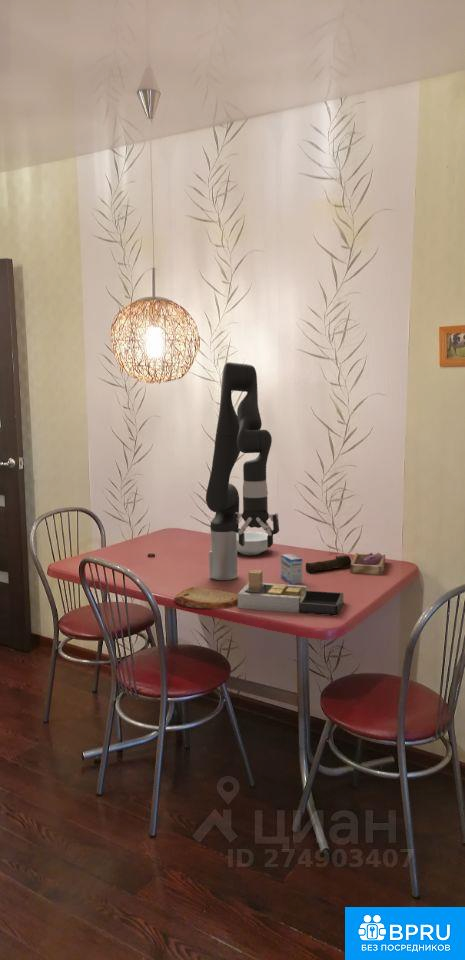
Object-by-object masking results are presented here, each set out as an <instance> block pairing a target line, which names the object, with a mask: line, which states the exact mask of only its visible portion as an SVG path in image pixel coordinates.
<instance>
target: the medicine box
mask: <svg viewBox="0 0 465 960" xmlns="http://www.w3.org/2000/svg"><path fill="white" fill-rule="evenodd" d="M280 579H281V580H282V581H285V582H286V583H289V585H298V584H302V583H303V559H302V558H301V557H299V556H297V555H294V554H293V553H284V554H281V555H280Z"/></svg>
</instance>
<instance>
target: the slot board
mask: <svg viewBox="0 0 465 960" xmlns="http://www.w3.org/2000/svg"><path fill="white" fill-rule="evenodd" d="M263 584H265V594H259V593H246V590H247V589H248V588H249V581H248V582H246V584H245V585H244V587H242V589H240V591H238V593H237V595H238V605H237V608H238V609H246V610H249V609H250V610H258V611H259V610H260V611H270V612H285V613H297V614H308V613H313V615H321V614H329V615H328V616H333V615H339V613H340V611H341V609H340V608H342V607H343V604H344V592H333V591H319V590H308V586H307V585H299V584H285V583H278V584H279V585H287V589H288V587H291V588H301V598H300V596H287V595H273V594H268V591H269V590H270V589H271V588H272V587H273V585H274V584H275V583H269V582H263ZM314 613H315V614H314Z"/></svg>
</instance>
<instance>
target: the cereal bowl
mask: <svg viewBox="0 0 465 960" xmlns="http://www.w3.org/2000/svg"><path fill="white" fill-rule="evenodd" d="M244 536H245V545H244V546H241V544H239V534H238V533H237V553H240V554H241V555H245V556H256V555H260V554H261V553H263V552H266V551H267V550H268V549H269V548H270V547H267V536H268V534H267V532H266V533H265V532H260V531H244Z"/></svg>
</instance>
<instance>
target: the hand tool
mask: <svg viewBox="0 0 465 960" xmlns="http://www.w3.org/2000/svg"><path fill="white" fill-rule="evenodd" d="M351 562H352V559H351V557H350V555H347V554H345V555H339V556H336V558H334V559H329V560H328V559H327V560H324V561H315V562H306V563H305V571H306V573H307V574H312V573H313V574H314V573H316V572H321V571H326V570H333V569H339V570H342V569H346V568H350V565H351Z"/></svg>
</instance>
